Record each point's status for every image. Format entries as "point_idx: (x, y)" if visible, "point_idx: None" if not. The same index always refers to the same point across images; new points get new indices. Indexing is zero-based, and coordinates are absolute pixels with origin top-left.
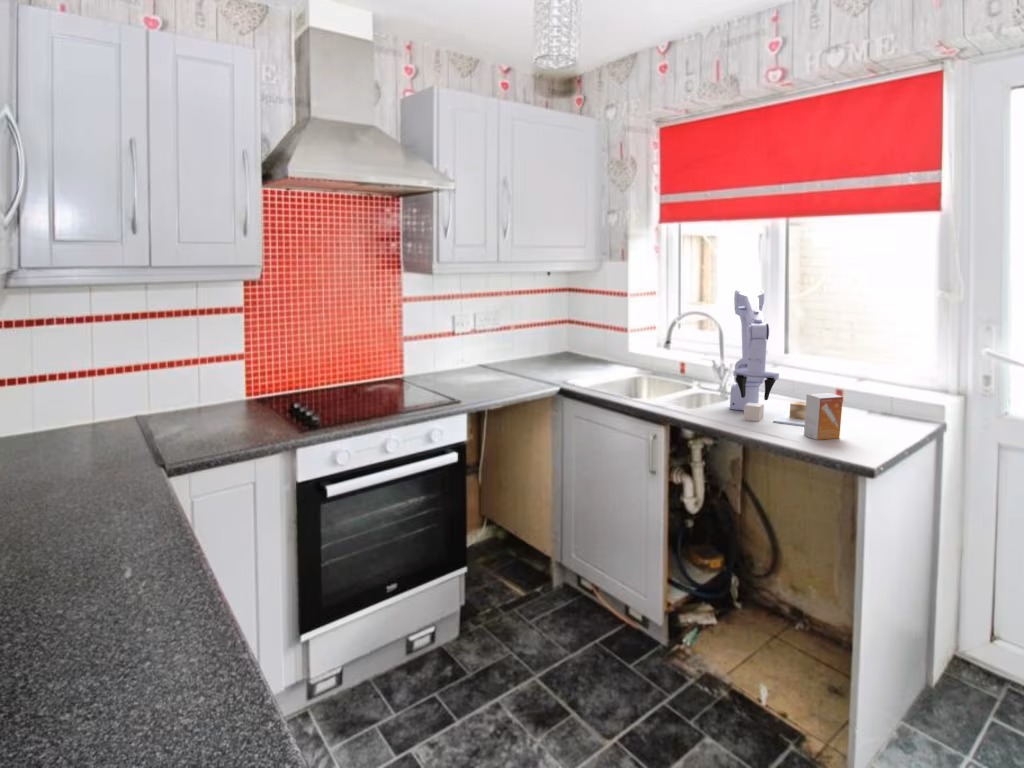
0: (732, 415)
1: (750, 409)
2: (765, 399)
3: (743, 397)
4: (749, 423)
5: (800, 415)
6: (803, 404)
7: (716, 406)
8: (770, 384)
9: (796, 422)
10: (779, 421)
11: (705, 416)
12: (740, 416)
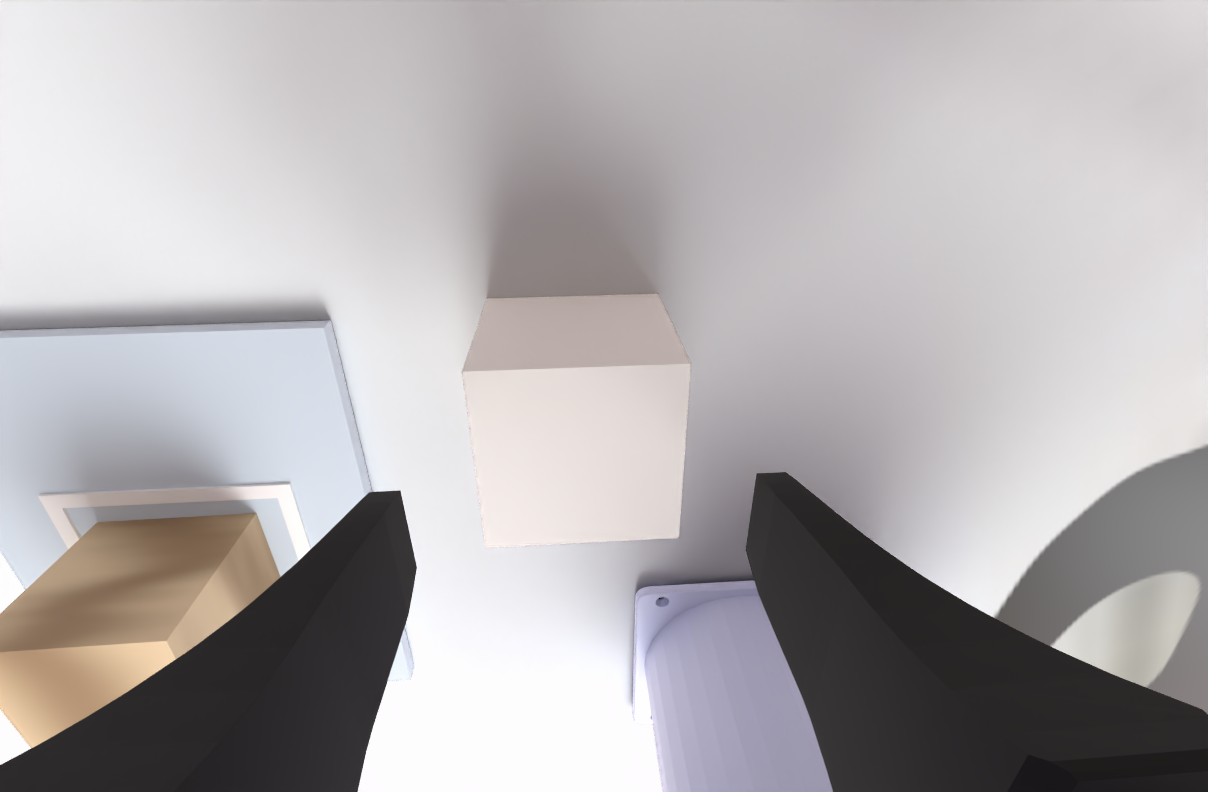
0: (805, 384)
1: (595, 345)
2: (376, 496)
3: (756, 484)
4: (534, 115)
5: (119, 547)
6: (17, 674)
7: (986, 602)
8: (11, 762)
9: (83, 382)
10: (249, 329)
11: (1095, 179)
12: (721, 387)
